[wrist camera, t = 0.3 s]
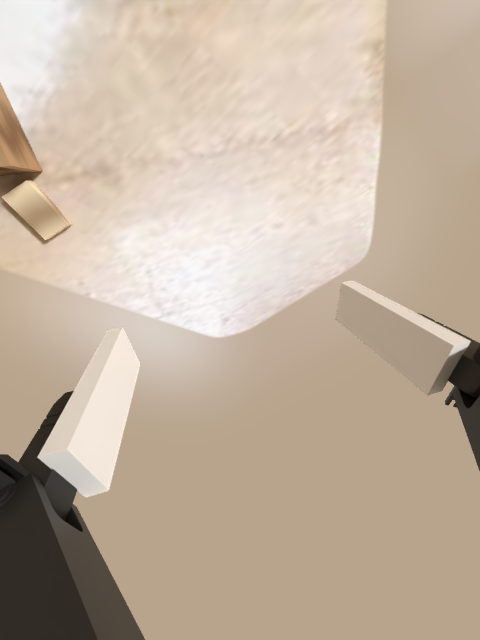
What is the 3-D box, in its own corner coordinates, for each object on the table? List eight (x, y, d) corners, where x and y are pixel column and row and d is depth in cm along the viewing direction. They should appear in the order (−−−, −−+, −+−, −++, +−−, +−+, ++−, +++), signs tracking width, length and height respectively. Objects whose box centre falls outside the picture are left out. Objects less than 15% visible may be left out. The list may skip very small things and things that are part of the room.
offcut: (10, 197, 29) (1, 197, 27) (34, 180, 29) (26, 180, 27) (51, 238, 32) (45, 240, 30) (73, 223, 32) (68, 225, 30)
